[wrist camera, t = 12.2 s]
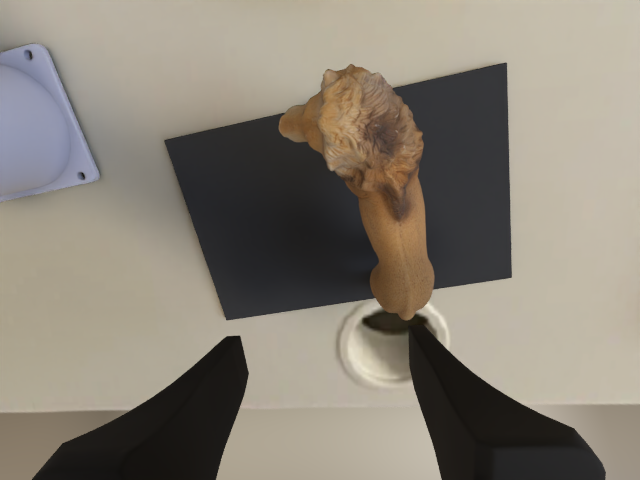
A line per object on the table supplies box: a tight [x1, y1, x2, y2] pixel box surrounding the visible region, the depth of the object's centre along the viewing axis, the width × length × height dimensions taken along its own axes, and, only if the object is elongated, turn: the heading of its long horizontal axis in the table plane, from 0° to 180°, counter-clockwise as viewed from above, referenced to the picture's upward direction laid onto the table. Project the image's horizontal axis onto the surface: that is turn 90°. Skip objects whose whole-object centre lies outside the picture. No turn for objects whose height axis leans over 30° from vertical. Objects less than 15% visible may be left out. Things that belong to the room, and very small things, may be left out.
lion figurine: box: [279, 64, 434, 320], centre depth 17 cm, size 15×5×9 cm, turn 25°
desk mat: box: [164, 63, 512, 320], centre depth 22 cm, size 20×13×1 cm, turn 102°
